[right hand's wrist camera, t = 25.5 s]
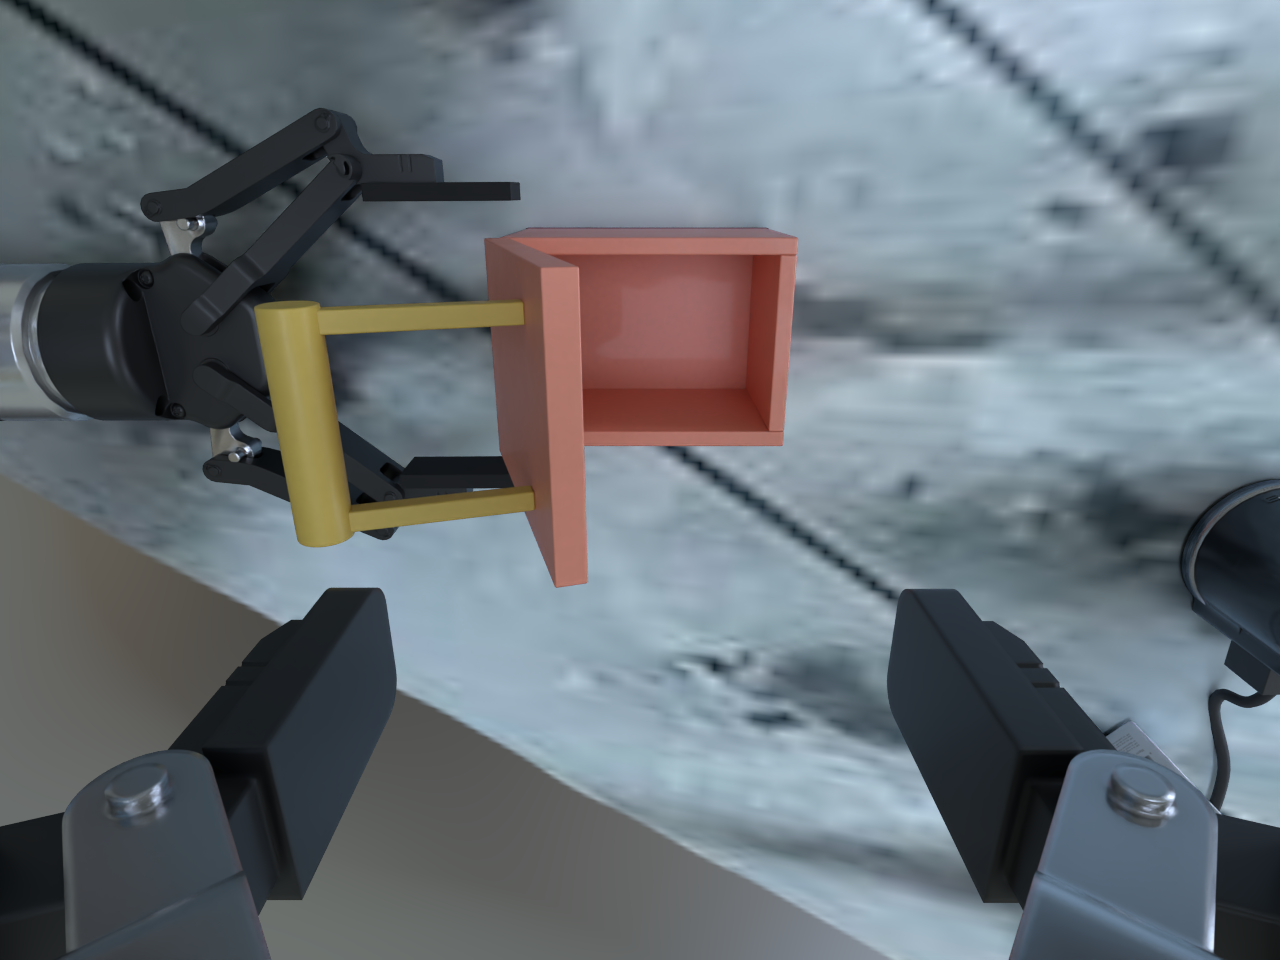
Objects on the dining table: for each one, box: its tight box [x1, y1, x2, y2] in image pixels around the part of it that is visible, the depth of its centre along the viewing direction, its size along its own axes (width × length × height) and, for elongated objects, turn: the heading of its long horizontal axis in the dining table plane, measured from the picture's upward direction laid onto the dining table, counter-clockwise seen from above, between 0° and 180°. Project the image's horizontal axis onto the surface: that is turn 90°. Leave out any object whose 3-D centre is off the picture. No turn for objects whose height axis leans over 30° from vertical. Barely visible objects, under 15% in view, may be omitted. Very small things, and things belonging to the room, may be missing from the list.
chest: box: [501, 228, 798, 446], centre depth 37 cm, size 13×10×9 cm
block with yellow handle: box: [254, 238, 588, 588], centre depth 26 cm, size 13×10×8 cm
